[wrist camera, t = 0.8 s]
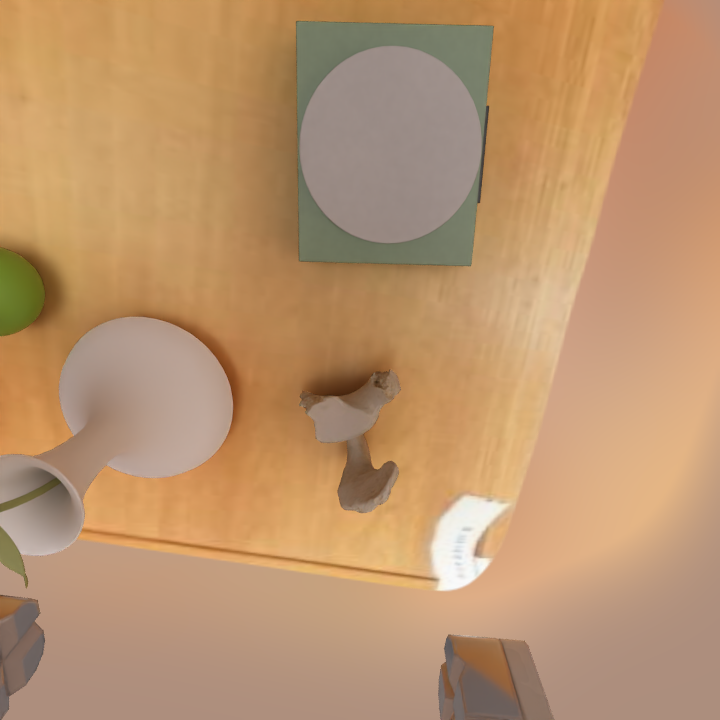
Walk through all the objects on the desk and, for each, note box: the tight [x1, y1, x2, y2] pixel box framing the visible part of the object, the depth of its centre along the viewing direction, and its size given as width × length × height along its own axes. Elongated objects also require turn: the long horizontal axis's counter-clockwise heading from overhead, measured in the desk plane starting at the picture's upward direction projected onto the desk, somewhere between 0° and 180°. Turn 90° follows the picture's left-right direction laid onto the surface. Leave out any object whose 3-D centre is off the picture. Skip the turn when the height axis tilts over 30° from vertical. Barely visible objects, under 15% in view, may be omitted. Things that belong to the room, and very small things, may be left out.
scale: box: [296, 21, 494, 266], centre depth 27 cm, size 12×10×4 cm
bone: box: [299, 369, 401, 513], centre depth 30 cm, size 9×6×10 cm
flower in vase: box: [0, 317, 233, 588], centre depth 22 cm, size 13×11×25 cm
